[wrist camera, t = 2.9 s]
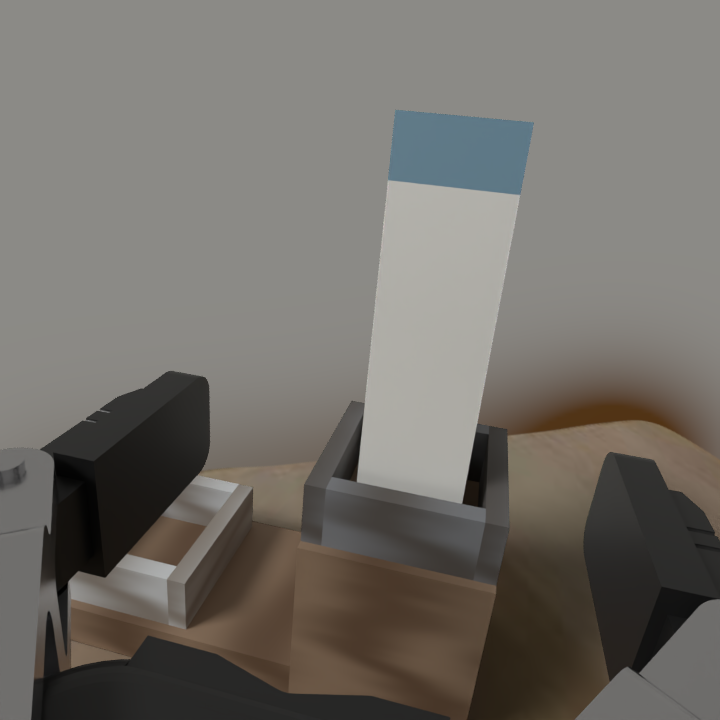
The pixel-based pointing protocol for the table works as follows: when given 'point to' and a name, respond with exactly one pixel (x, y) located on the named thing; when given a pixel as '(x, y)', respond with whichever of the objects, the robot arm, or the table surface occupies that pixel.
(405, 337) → the plug
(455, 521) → the square socket stand
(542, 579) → the table surface
